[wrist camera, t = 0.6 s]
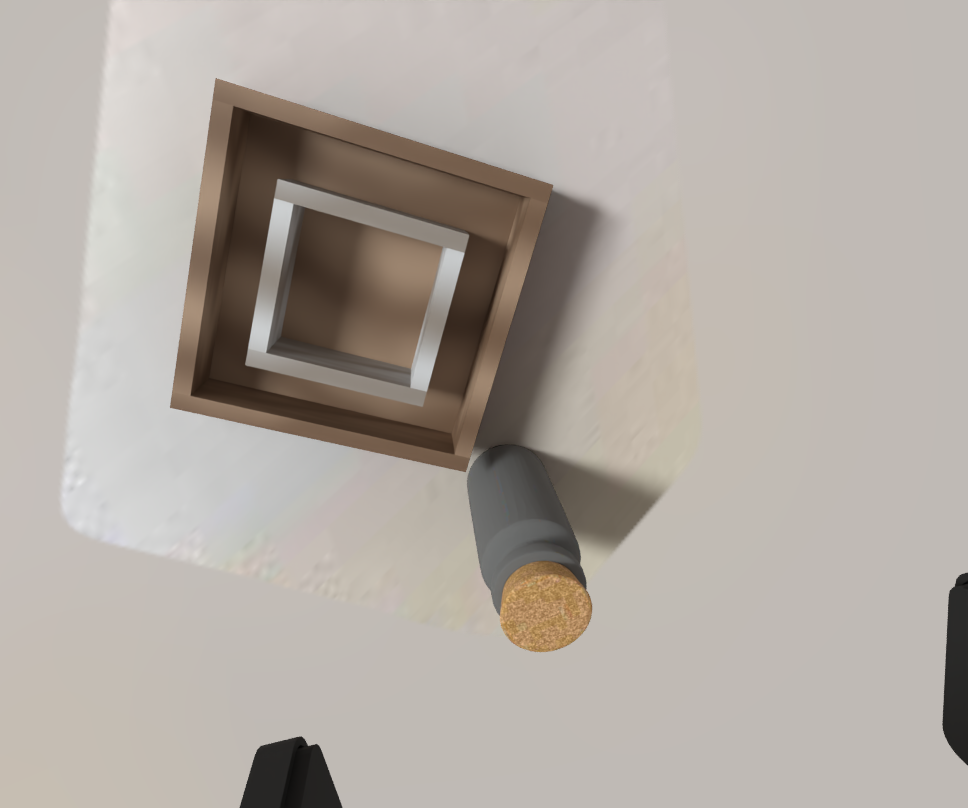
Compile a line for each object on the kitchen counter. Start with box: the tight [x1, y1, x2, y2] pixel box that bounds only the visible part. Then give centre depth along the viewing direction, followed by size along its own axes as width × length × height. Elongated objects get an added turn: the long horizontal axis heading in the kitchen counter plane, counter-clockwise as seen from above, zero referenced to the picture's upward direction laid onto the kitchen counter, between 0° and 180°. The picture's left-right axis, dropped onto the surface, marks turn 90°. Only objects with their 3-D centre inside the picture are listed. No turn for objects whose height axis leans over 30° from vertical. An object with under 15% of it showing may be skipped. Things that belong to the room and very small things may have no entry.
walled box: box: [170, 78, 553, 472], centre depth 37 cm, size 18×18×5 cm
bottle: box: [467, 445, 592, 652], centre depth 38 cm, size 6×6×15 cm
